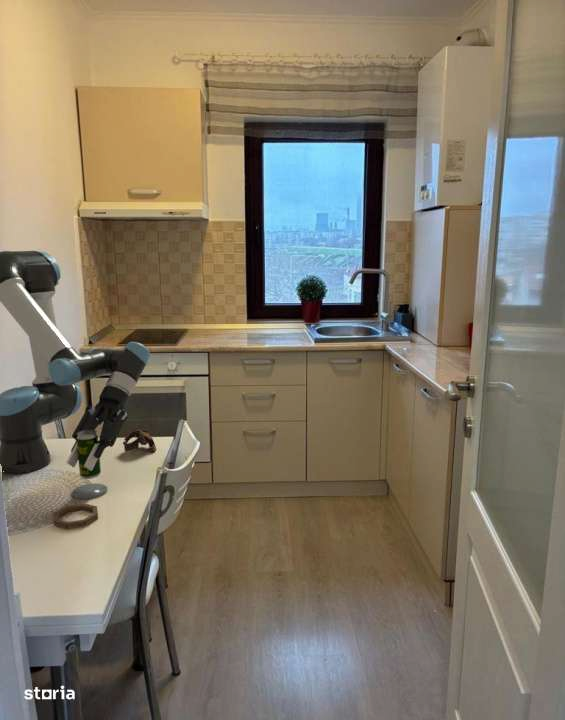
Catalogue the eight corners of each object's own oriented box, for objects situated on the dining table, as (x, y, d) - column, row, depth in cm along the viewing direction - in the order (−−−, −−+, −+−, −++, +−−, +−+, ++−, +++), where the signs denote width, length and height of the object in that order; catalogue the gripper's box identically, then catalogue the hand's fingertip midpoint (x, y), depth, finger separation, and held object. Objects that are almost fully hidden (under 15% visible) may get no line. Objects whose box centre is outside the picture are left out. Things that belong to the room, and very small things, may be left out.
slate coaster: (64, 495, 147) (64, 493, 146) (89, 483, 155) (89, 481, 154) (90, 502, 143) (90, 499, 143) (114, 488, 151) (114, 486, 151)
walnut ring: (44, 523, 131) (44, 518, 131) (76, 506, 140) (75, 501, 140) (76, 532, 127) (75, 526, 127) (106, 514, 136) (106, 508, 136)
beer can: (90, 470, 151) (86, 428, 149) (105, 473, 149) (102, 430, 147) (75, 477, 146) (71, 434, 144) (90, 480, 144) (86, 437, 142)
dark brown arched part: (157, 456, 176) (143, 438, 172) (131, 469, 177) (117, 451, 173) (160, 436, 187) (147, 418, 183) (135, 447, 187) (122, 430, 184)
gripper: (150, 401, 154) (114, 478, 143) (99, 395, 162) (61, 467, 150) (136, 387, 148) (98, 465, 137) (84, 381, 156) (44, 455, 144)
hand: (79, 466), depth 144 cm, fingers closed on beer can, 5 cm apart
